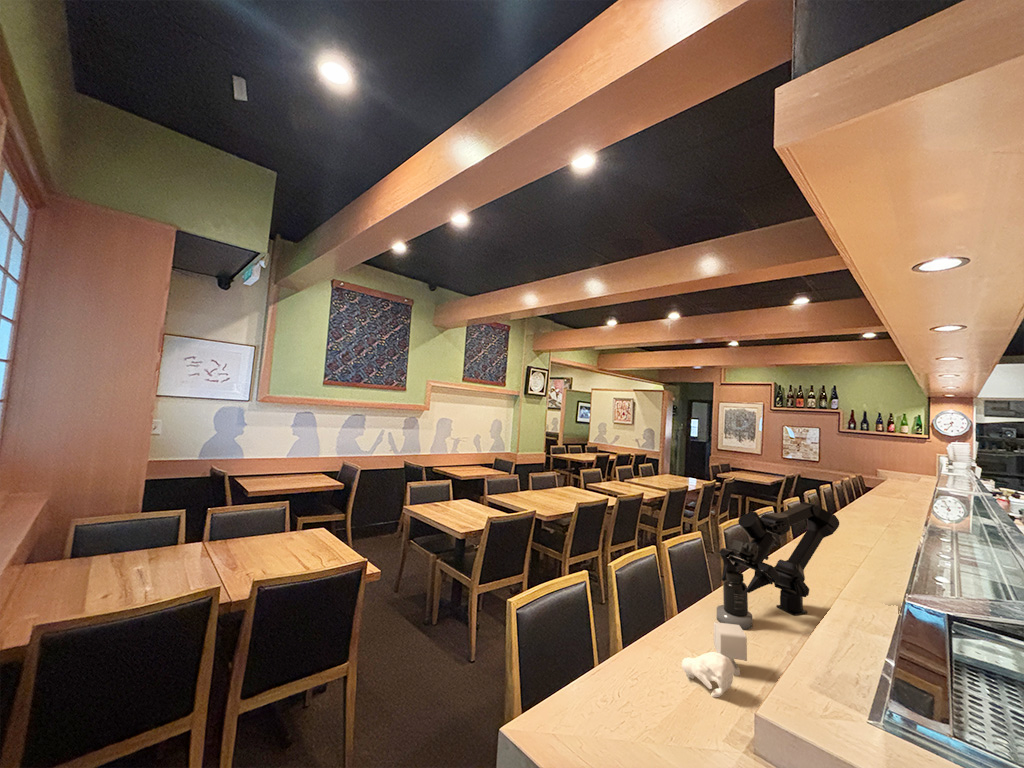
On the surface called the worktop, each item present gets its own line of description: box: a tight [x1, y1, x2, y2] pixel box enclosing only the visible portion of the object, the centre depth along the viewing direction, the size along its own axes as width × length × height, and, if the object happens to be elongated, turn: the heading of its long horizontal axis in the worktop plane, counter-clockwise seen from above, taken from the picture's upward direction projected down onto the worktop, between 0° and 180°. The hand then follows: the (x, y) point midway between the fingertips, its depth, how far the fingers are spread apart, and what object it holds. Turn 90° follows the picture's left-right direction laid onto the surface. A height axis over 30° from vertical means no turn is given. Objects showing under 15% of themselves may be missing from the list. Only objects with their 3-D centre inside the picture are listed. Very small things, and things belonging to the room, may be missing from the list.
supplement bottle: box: [722, 570, 749, 617], centre depth 133 cm, size 7×7×12 cm
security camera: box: [713, 621, 748, 677], centre depth 108 cm, size 6×7×10 cm
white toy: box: [681, 651, 735, 699], centre depth 101 cm, size 6×8×12 cm
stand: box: [716, 604, 753, 631], centre depth 133 cm, size 10×10×3 cm
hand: (734, 586), depth 134 cm, fingers open, 9 cm apart
